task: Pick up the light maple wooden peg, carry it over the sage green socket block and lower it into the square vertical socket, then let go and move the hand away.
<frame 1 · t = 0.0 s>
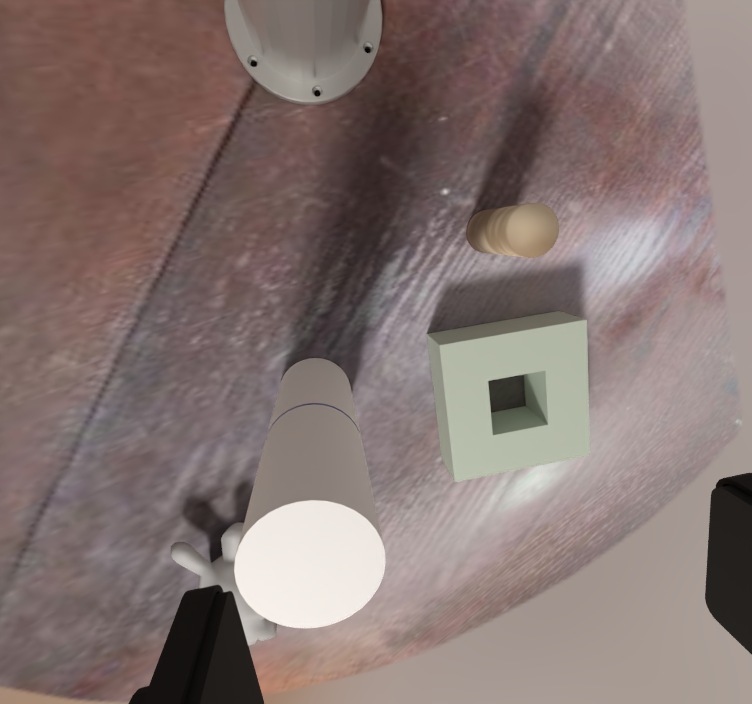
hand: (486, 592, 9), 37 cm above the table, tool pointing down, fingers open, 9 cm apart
cylindrical container: (315, 391, 46), on the table
socket block: (498, 386, 48), on the table
bunny figurine: (238, 570, 50), on the table
maple peg: (486, 231, 44), on the table
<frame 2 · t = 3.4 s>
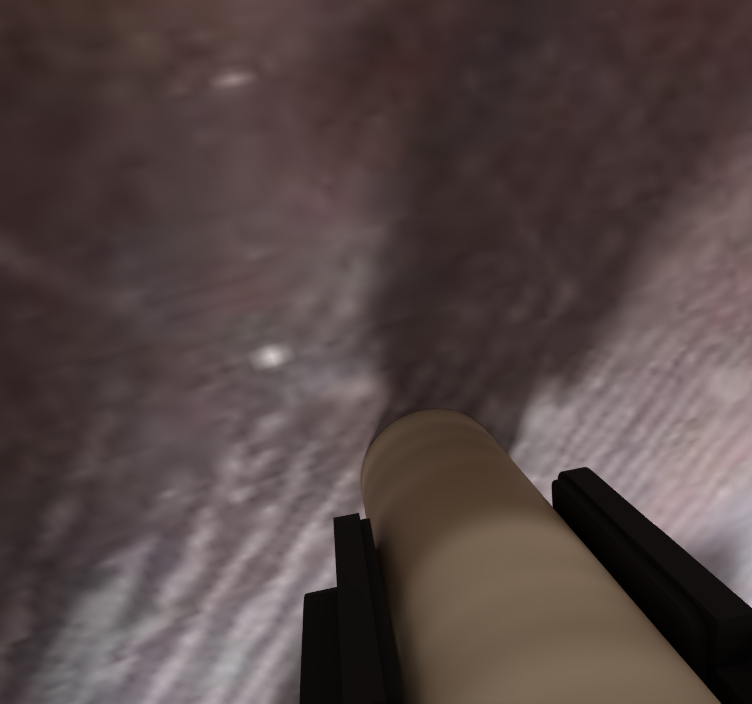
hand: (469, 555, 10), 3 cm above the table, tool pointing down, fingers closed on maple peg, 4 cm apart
maple peg: (431, 475, 13), on the table, touching gripper
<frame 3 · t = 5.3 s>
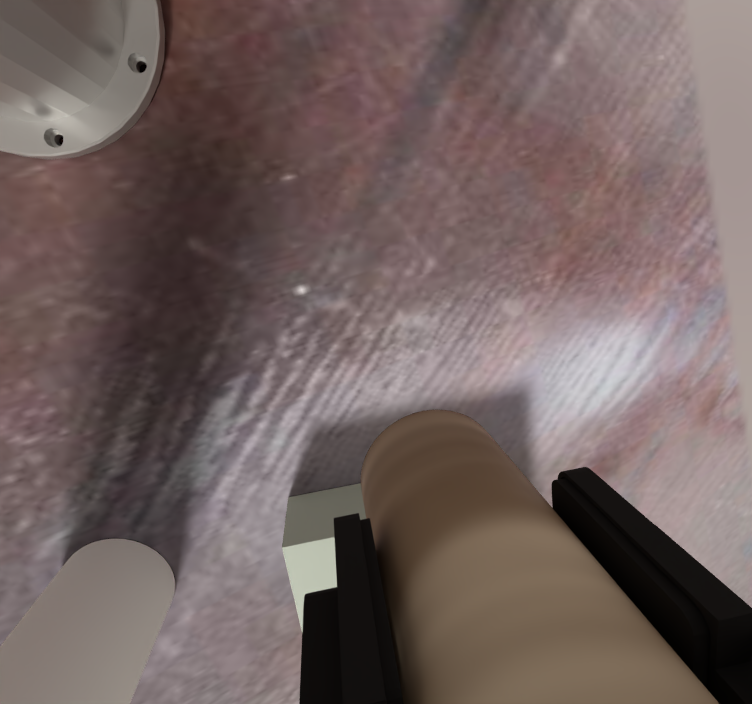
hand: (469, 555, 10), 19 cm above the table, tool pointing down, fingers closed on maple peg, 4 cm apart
cylindrical container: (119, 583, 30), on the table
socket block: (406, 564, 32), on the table
maple peg: (431, 476, 13), point 16 cm above the table, touching gripper
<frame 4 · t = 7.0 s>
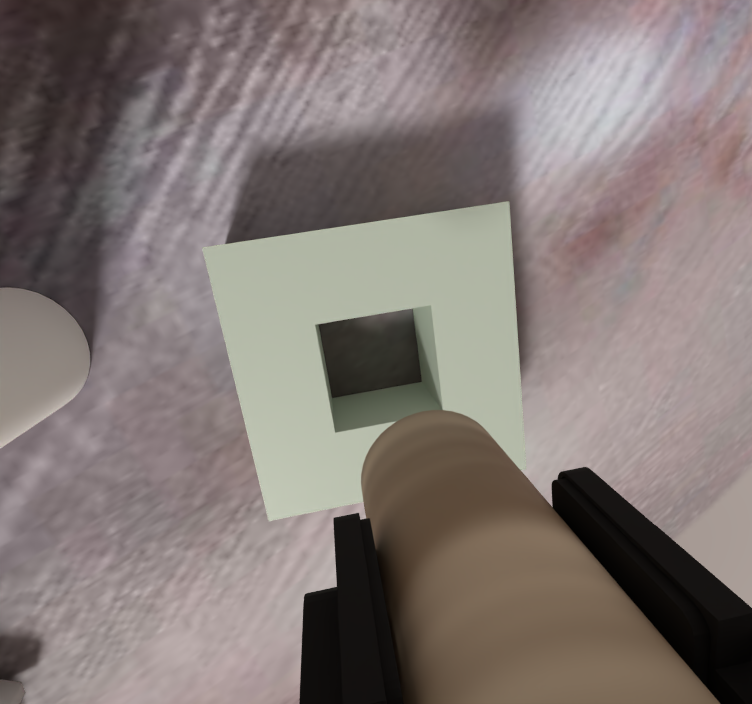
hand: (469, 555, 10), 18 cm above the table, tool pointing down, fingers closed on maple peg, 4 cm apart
cylindrical container: (22, 352, 25), on the table
socket block: (370, 346, 27), on the table
maple peg: (431, 476, 13), point 15 cm above the table, touching gripper
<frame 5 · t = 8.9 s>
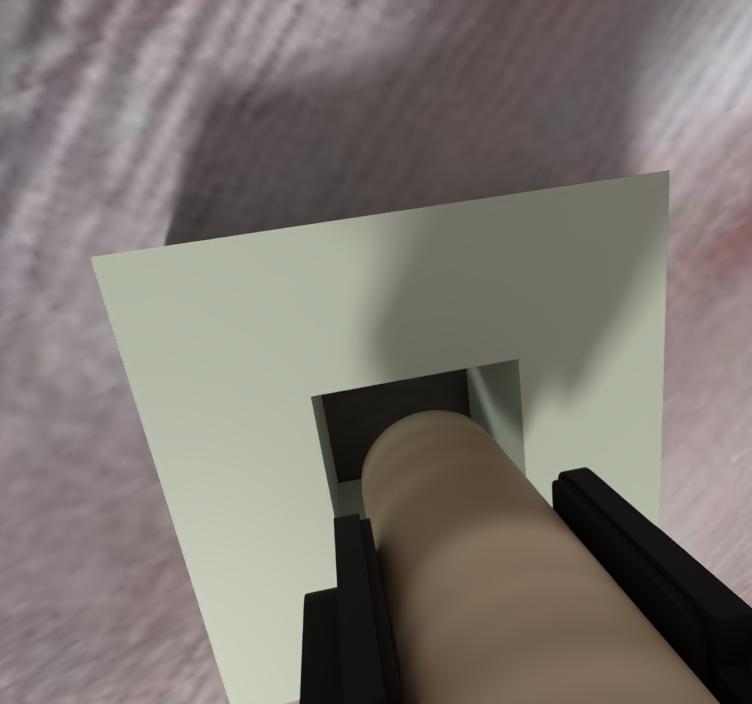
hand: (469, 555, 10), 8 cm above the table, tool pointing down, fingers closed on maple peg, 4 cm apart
socket block: (397, 405, 17), on the table
maple peg: (432, 476, 13), point 5 cm above the table, touching gripper
when the fingers open (6 cm above the table, at t = 10.6 s): maple peg drops 3 cm, resting in socket block.
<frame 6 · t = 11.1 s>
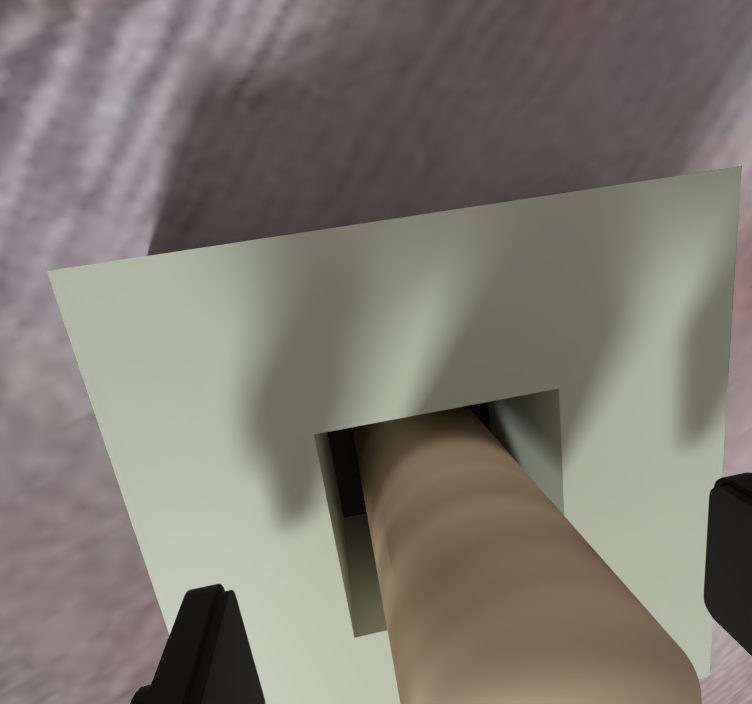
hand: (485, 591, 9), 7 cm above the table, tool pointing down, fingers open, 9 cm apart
socket block: (410, 431, 16), on the table
maple peg: (411, 430, 16), resting in socket block
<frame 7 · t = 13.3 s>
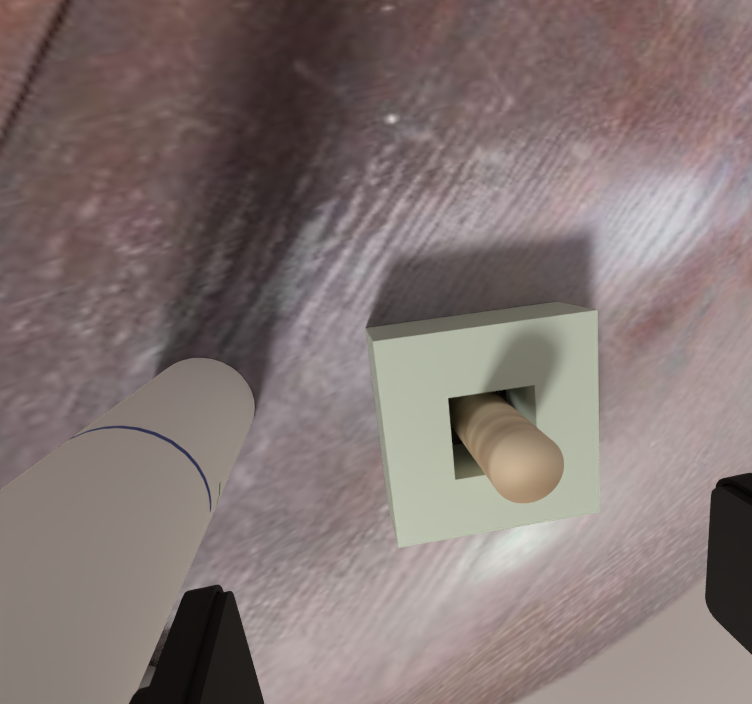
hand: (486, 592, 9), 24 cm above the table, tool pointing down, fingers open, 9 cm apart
cylindrical container: (203, 406, 32), on the table
socket block: (470, 407, 34), on the table
maple peg: (470, 406, 34), resting in socket block
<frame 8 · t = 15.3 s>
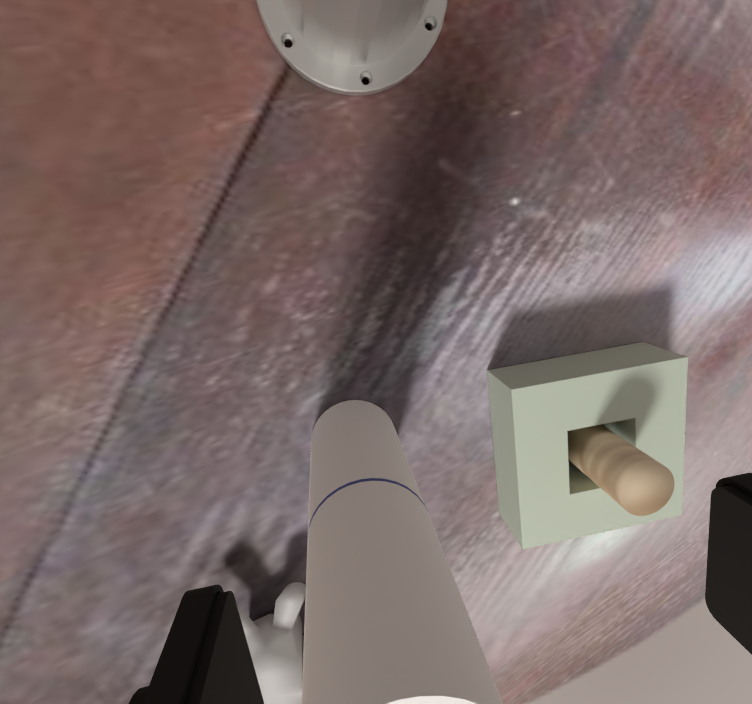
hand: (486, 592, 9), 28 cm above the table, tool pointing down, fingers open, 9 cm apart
cylindrical container: (353, 438, 38), on the table
socket block: (568, 430, 41), on the table
bunny figurine: (279, 630, 43), on the table
maple peg: (568, 430, 41), resting in socket block
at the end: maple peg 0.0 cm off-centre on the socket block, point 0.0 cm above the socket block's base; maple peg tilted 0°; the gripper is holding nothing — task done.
